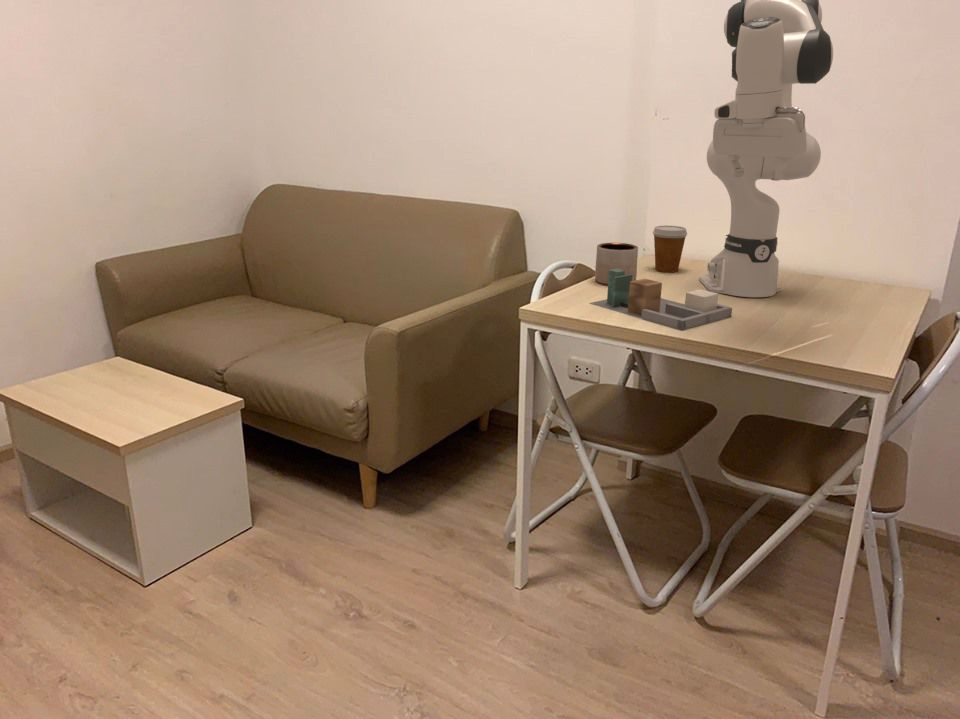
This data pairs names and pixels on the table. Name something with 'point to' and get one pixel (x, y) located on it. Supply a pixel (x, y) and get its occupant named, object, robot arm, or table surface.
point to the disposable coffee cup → (668, 247)
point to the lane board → (674, 314)
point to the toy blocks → (633, 292)
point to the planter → (615, 260)
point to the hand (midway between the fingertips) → (757, 178)
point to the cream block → (701, 300)
